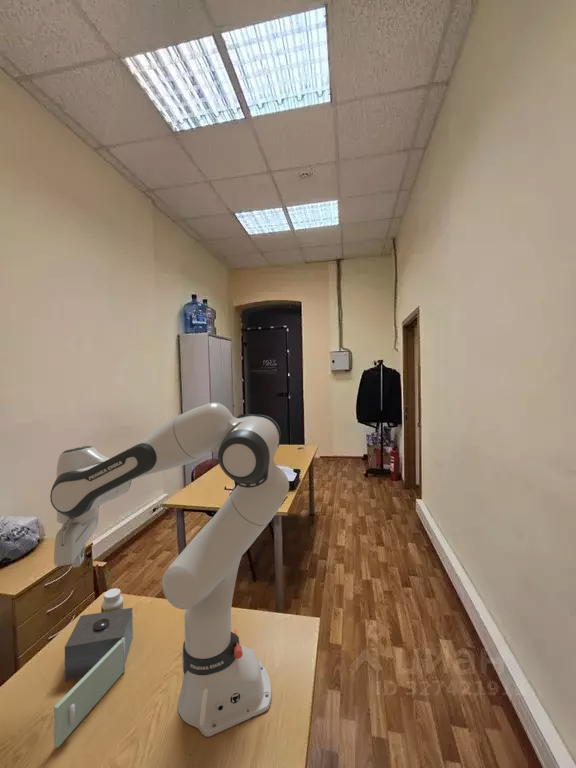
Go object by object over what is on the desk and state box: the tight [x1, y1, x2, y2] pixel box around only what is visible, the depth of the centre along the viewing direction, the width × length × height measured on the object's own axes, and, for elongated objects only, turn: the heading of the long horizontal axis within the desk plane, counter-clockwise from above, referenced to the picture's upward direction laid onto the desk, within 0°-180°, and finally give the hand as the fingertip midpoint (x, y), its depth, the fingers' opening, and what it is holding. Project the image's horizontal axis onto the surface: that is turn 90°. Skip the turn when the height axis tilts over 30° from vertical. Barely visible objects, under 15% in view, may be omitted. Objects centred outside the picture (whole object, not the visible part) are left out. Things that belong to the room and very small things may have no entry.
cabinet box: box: [64, 607, 134, 682], centre depth 95 cm, size 14×12×10 cm
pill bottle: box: [100, 587, 124, 613], centre depth 107 cm, size 6×6×11 cm
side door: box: [53, 637, 126, 748], centre depth 81 cm, size 20×2×8 cm, turn 165°
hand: (78, 564), depth 86 cm, fingers closed
